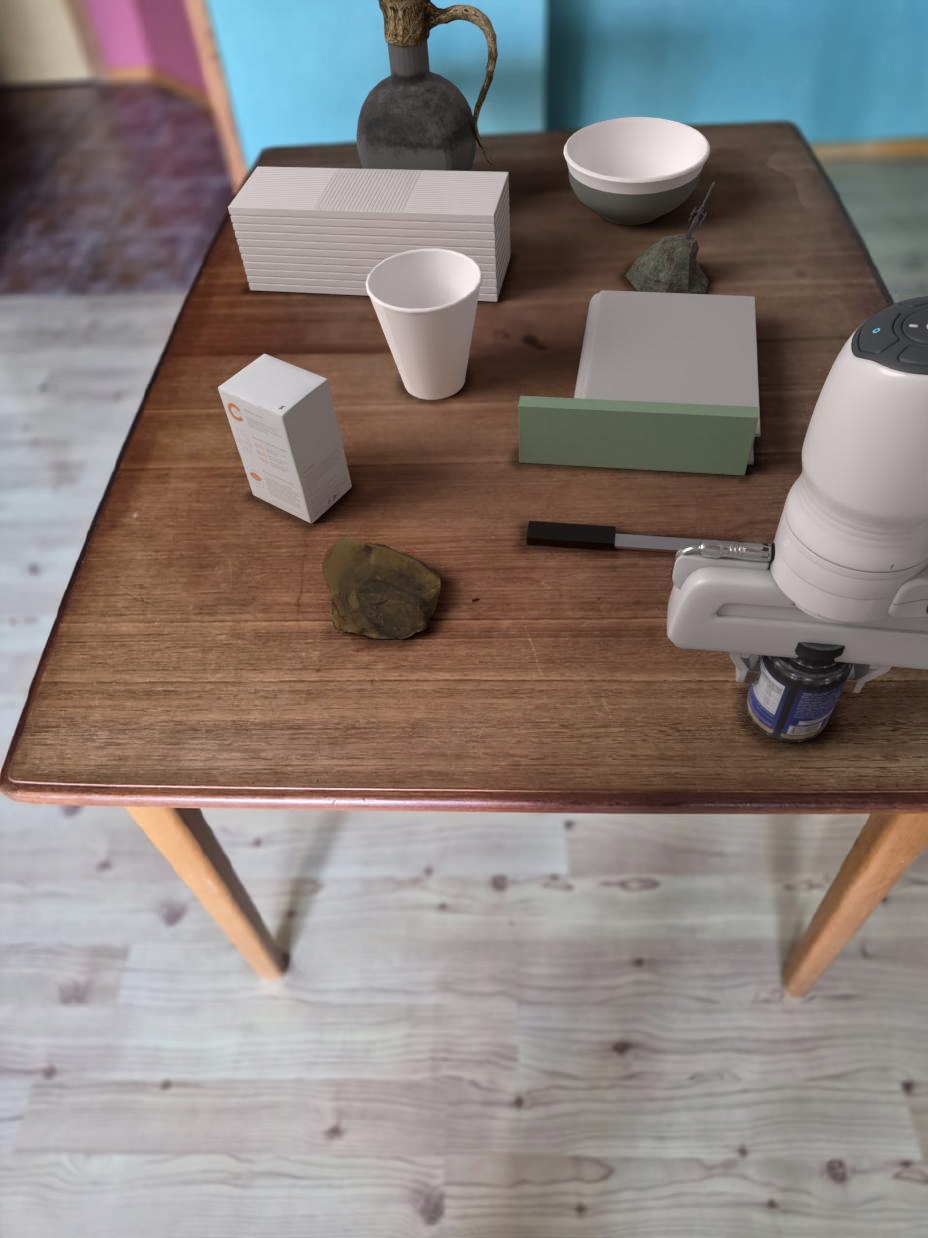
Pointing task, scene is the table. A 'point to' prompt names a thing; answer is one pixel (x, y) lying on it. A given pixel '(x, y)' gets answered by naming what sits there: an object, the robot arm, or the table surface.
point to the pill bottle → (797, 692)
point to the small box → (287, 436)
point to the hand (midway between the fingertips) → (796, 680)
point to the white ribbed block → (366, 224)
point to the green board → (636, 434)
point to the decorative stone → (378, 590)
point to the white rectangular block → (670, 349)
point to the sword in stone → (671, 263)
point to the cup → (427, 316)
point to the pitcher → (421, 96)
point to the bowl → (635, 167)
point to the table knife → (601, 538)
